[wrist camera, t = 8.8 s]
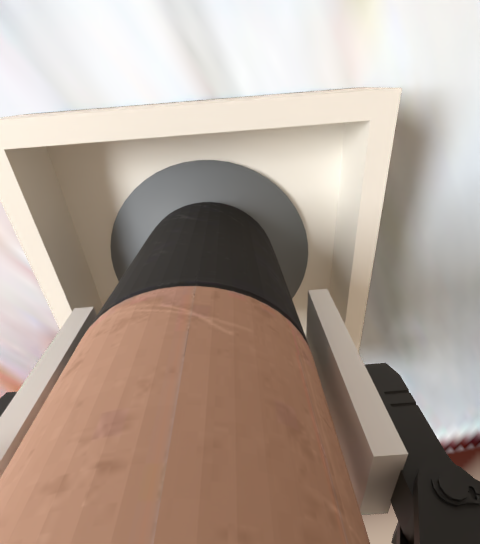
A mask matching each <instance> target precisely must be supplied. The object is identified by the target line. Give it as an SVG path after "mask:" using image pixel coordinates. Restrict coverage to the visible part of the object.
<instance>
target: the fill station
mask: <svg viewBox="0 0 480 544" xmlns="http://www.w3.org/2000/svg"><path fill="white" fill-rule="evenodd" d="M401 91H402V88H374V87H360V88H347V89H335V90H322V91H310V92H297V93H285V94H272V95H260V96H247V97H235V98H222V99H210V100H197V101H185V102H172V103H160V104H147V105H135V106H122V107H110V108H97V109H85V110H72V111H60V112H47V113H35V114H23V115H16V116H9V117H2V118H0V201H1V203H2V205H3V207H4V209H5V212H6V214H7V216H8V218H9V220H10V222H11V225H12V227H13V229H14V231H15V233H16V235H17V238H18V240H19V242H20V244H21V246H22V248H23V251H24V253H25V255H26V257H27V259H28V261H29V264H30V266H31V268H32V270H33V272H34V274H35V277H36V279H37V281H38V283H39V285H40V287H41V290H42V292H43V294H44V296H45V298H46V300H47V303H48V305H49V307H50V309H51V311H52V313H53V316H54V318H55V320H56V322H57V324H58V327H59V329H61V327H62V326H63V325H64V323H65V322H66V320H67V319H68V317H69V316H70V314H71V313H72V311H73V310H74V308H85V307H94V309H95V312H96V315H97V314H98V313H99V311H100V310H101V308H102V307H103V305H104V304H105V302H106V301H107V299H108V298H109V296H110V295H111V293H112V292H113V290H114V289H115V287H116V286H117V284H118V283H119V281H120V280H121V278H122V276H123V275H124V273H125V272H126V270H127V269H128V267H129V266H130V264H131V263H132V261H133V260H134V258H135V257H136V255H137V254H138V252H139V251H140V249H141V248H142V246H143V245H144V243H145V242H146V240H147V239H148V237H149V236H150V234H151V233H152V231H153V230H154V229H155V227H156V226H157V225H158V224H159V223H160V222H161V221H162V219H164V218H165V217H166V216H167V215H168V214H170V213H172V212H173V211H175V210H177V209H179V208H181V207H183V206H186V205H190V204H194V203H200V202H215V203H222V204H226V205H230V206H233V207H235V208H238V209H240V210H241V211H243V212H245V213H247V214H248V215H249V216H251V217H252V218H253V219H254V220H255V221H257V222H258V223H259V225H260V226H261V227H262V228H263V230H264V231H265V233H266V234H267V236H268V238H269V240H270V242H271V245H272V247H273V250H274V252H275V255H276V257H277V260H278V263H279V265H280V268H281V271H282V273H283V276H284V279H285V282H286V284H287V287H288V290H289V293H290V295H291V298H292V301H293V303H294V306H295V309H296V312H297V314H298V317H299V320H300V323H301V325H302V328H303V331H304V333H305V336H306V327H307V305H308V290H319V289H328V291H329V293H330V295H331V298H332V300H333V302H334V304H335V306H336V308H337V310H338V312H339V314H340V316H341V318H342V320H343V322H344V324H345V326H346V328H347V330H348V332H349V334H350V336H351V338H352V340H353V342H354V344H355V346H356V348H357V351H358V353H359V348H360V342H361V336H362V330H363V324H364V318H365V312H366V305H367V299H368V293H369V287H370V281H371V275H372V269H373V262H374V256H375V250H376V244H377V238H378V232H379V226H380V220H381V213H382V207H383V201H384V195H385V189H386V183H387V177H388V170H389V164H390V158H391V152H392V146H393V140H394V134H395V128H396V121H397V115H398V109H399V103H400V97H401Z"/></svg>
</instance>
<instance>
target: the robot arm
mask: <svg viewBox="0 0 480 544" xmlns="http://www.w3.org/2000/svg"><path fill="white" fill-rule="evenodd" d="M96 316H97V315H96V312H95V309H94V307H85V308H74V310H73V311H72V313H71V314H70V316H69V317H68V319H67V320H66V322H65V323H64V325H63V326H62V327H61V329H60V330H59V332H58V333H57V335H56V336H55V338H54V339H53V341H52V342H51V344H50V345H49V346H48V348H47V349H46V351H45V352H44V354H43V355H42V357H41V358H40V360H39V361H38V363H37V364H36V365H35V367H34V368H33V370H32V371H31V373H30V374H29V376H28V377H27V379H26V380H25V382H24V383H23V384H22V386H21V387H20V389H19V390H18V392H8V393H6V394H5V395H4V396H3V397H1V398H0V478H1V476H2V474H3V473H4V471H5V469H6V467H7V466H8V464H9V462H10V461H11V459H12V457H13V455H14V454H15V452H16V450H17V449H18V447H19V445H20V443H21V442H22V440H23V438H24V437H25V435H26V433H27V431H28V430H29V428H30V426H31V425H32V423H33V421H34V419H35V418H36V416H37V414H38V413H39V411H40V409H41V407H42V406H43V404H44V402H45V401H46V399H47V397H48V395H49V394H50V392H51V390H52V389H53V387H54V385H55V383H56V382H57V380H58V378H59V377H60V375H61V373H62V371H63V370H64V368H65V366H66V365H67V363H68V361H69V359H70V358H71V356H72V354H73V353H74V351H75V349H76V347H77V346H78V344H79V342H80V341H81V339H82V337H83V336H84V334H85V333H86V331H87V330H88V328H89V327H90V325H91V324H92V322H93V320H94V319H95V317H96ZM306 339H307V342H308V344H309V347H310V351H311V353H312V356H313V359H314V362H315V365H316V369H317V372H318V375H319V378H320V382H321V385H322V388H323V391H324V395H325V398H326V401H327V405H328V408H329V411H330V414H331V418H332V421H333V424H334V427H335V431H336V434H337V437H338V441H339V444H340V447H341V450H342V454H343V457H344V460H345V463H346V467H347V470H348V473H349V476H350V480H351V483H352V486H353V490H354V493H355V496H356V499H357V503H358V506H359V509H360V512H361V515H370V514H384V513H388V511H389V508H390V505H391V503H392V506H393V509H394V511H395V514H396V516H397V519H398V524H397V526H396V529H395V531H394V534H393V538H392V543H393V544H480V481H478V480H476V479H474V478H473V477H472V476H471V475H470V474H468V473H467V472H466V471H464V470H463V469H462V468H461V467H459V466H457V465H455V464H454V463H453V462H452V461H451V459H450V458H449V456H448V455H447V454H446V452H445V450H444V449H443V447H442V445H441V444H440V442H439V440H438V439H437V437H436V435H435V434H434V432H433V430H432V429H431V427H430V425H429V424H428V422H427V420H426V419H425V417H424V415H423V413H422V412H421V410H420V408H419V407H418V405H416V402H415V400H414V398H413V397H412V395H411V393H409V391H408V388H407V387H406V385H405V383H404V382H403V380H402V378H401V376H400V375H399V374H398V373H397V372H395V371H394V370H393V369H392V368H391V367H390V366H389V365H387V364H386V363H381V364H367V365H364V363H363V361H362V359H361V357H360V355H359V353H358V351H357V348H356V346H355V344H354V342H353V340H352V338H351V336H350V334H349V332H348V330H347V328H346V326H345V324H344V322H343V320H342V318H341V316H340V314H339V312H338V310H337V308H336V306H335V304H334V302H333V300H332V298H331V295H330V293H329V291H328V289H319V290H308V305H307V327H306Z"/></svg>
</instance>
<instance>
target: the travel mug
mask: <svg viewBox="0 0 480 544" xmlns="http://www.w3.org/2000/svg"><path fill="white" fill-rule="evenodd" d="M0 544H370V542H369V539H368V535H367V532H366V529H365V525H364V523H363V519H362V516H361V512H360V509H359V506H358V503H357V499H356V496H355V493H354V490H353V486H352V483H351V480H350V476H349V473H348V470H347V467H346V463H345V460H344V457H343V454H342V450H341V447H340V444H339V441H338V437H337V434H336V431H335V427H334V424H333V421H332V418H331V414H330V411H329V408H328V405H327V401H326V398H325V395H324V391H323V388H322V385H321V382H320V378H319V375H318V372H317V369H316V365H315V362H314V359H313V356H312V353H311V351H310V347H309V344H308V342H307V339H306V336H305V333H304V331H303V328H302V325H301V323H300V320H299V317H298V314H297V312H296V309H295V306H294V303H293V301H292V298H291V295H290V293H289V290H288V287H287V284H286V282H285V279H284V276H283V273H282V271H281V268H280V265H279V263H278V260H277V257H276V255H275V252H274V250H273V247H272V245H271V242H270V240H269V238H268V236H267V234H266V233H265V231H264V230H263V228H262V227H261V226H260V225H259V223H258V222H257V221H255V220H254V219H253V218H252V217H251V216H249V215H248V214H247V213H245V212H243V211H241V210H240V209H238V208H235V207H233V206H230V205H226V204H222V203H215V202H200V203H194V204H190V205H186V206H183V207H181V208H179V209H177V210H175V211H173V212H172V213H170V214H168V215H167V216H166V217H165V218H164V219H162V221H161V222H160V223H159V224H158V225H157V226H156V227H155V229H154V230H153V231H152V233H151V234H150V236H149V237H148V239H147V240H146V242H145V243H144V245H143V246H142V248H141V249H140V251H139V252H138V254H137V255H136V257H135V258H134V260H133V261H132V263H131V264H130V266H129V267H128V269H127V270H126V272H125V273H124V275H123V276H122V278H121V280H120V281H119V283H118V284H117V286H116V287H115V289H114V290H113V292H112V293H111V295H110V296H109V298H108V299H107V301H106V302H105V304H104V305H103V307H102V308H101V310H100V311H99V313H98V314H97V316H96V317H95V319H94V320H93V322H92V324H91V325H90V327H89V328H88V330H87V331H86V333H85V334H84V336H83V337H82V339H81V341H80V342H79V344H78V346H77V347H76V349H75V351H74V353H73V354H72V356H71V358H70V359H69V361H68V363H67V365H66V366H65V368H64V370H63V371H62V373H61V375H60V377H59V378H58V380H57V382H56V383H55V385H54V387H53V389H52V390H51V392H50V394H49V395H48V397H47V399H46V401H45V402H44V404H43V406H42V407H41V409H40V411H39V413H38V414H37V416H36V418H35V419H34V421H33V423H32V425H31V426H30V428H29V430H28V431H27V433H26V435H25V437H24V438H23V440H22V442H21V443H20V445H19V447H18V449H17V450H16V452H15V454H14V455H13V457H12V459H11V461H10V462H9V464H8V466H7V467H6V469H5V471H4V473H3V474H2V476H1V478H0Z"/></svg>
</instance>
